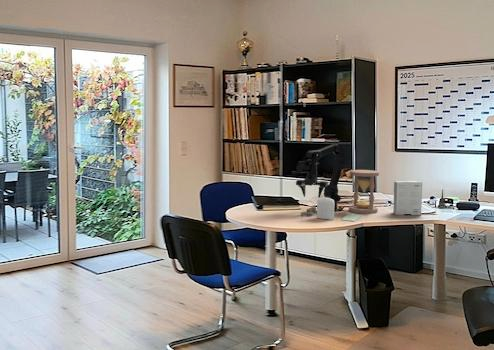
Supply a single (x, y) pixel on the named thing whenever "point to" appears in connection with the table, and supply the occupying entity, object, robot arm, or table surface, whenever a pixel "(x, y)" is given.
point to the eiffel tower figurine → (442, 203)
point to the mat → (351, 217)
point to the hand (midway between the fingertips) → (311, 197)
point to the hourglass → (364, 183)
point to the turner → (309, 212)
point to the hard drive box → (407, 197)
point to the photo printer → (325, 208)
